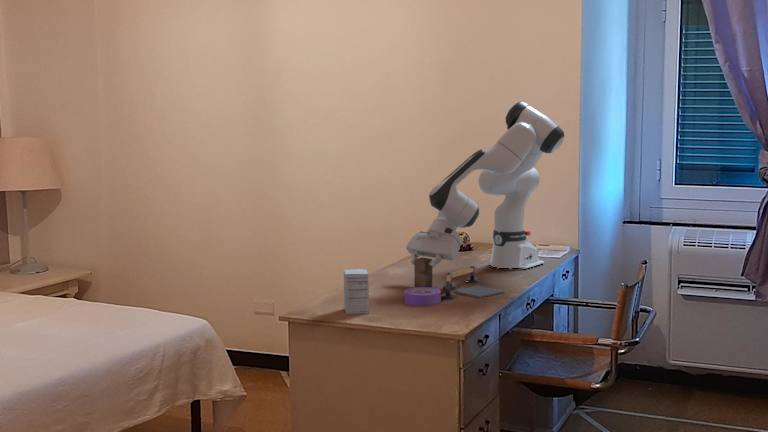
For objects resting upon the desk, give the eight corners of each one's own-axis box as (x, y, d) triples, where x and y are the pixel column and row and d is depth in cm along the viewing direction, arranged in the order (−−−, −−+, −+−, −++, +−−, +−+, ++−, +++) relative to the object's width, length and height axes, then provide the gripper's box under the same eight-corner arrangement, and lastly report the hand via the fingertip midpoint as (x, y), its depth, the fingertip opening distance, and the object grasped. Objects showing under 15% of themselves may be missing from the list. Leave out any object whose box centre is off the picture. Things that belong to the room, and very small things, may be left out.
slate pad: (478, 287, 313) (478, 285, 313) (504, 292, 304) (504, 291, 304) (453, 292, 306) (453, 290, 305) (479, 298, 296) (479, 296, 296)
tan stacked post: (422, 285, 317) (422, 257, 316) (432, 287, 314) (432, 258, 313) (414, 287, 314) (414, 259, 313) (424, 289, 311) (424, 260, 310)
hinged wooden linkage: (458, 279, 327) (458, 264, 326) (478, 280, 324) (478, 265, 323) (429, 297, 298) (429, 281, 297) (451, 299, 295) (451, 283, 294)
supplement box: (344, 308, 284) (343, 269, 282) (367, 308, 284) (367, 268, 283) (345, 314, 276) (344, 273, 275) (369, 313, 277) (368, 273, 275)
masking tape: (429, 308, 285) (429, 296, 284) (397, 303, 291) (397, 292, 290) (447, 300, 294) (447, 289, 294) (415, 296, 301) (415, 285, 300)
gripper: (413, 225, 324) (395, 256, 318) (458, 231, 310) (440, 263, 304) (422, 236, 327) (404, 266, 322) (466, 242, 314) (448, 274, 308)
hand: (422, 265), depth 313 cm, fingers open, 7 cm apart
